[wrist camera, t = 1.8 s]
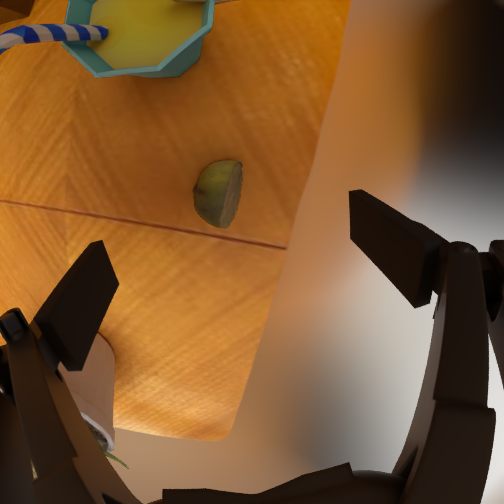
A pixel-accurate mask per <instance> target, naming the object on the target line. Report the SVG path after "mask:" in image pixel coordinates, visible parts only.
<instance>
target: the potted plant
mask: <svg viewBox="0 0 504 504" xmlns="http://www.w3.org/2000/svg"><path fill="white" fill-rule="evenodd" d="M58 369H59V371H60V372H61V373H62V375H63V377H64V380H65V382H66V384H67V386H68V389H69V391H70V393H71V395H72V397H73V399H74V401H75V403H76V405H77V407H78V409H79V411H80V413H81V415H82V417H83V419H84V420H85V422H86V424H87V426H88V428H89V429H90V431H91V433H92V435H93V436H94V438H95V440H96V441H97V443H98V445H99V446H100V448H101V450H102V451H103V453H104V454H105V456H107V457H110V458H112V459H114V460H116V461H118V462H120V463H121V464H123V465H124V466H125V467H126V468H128V467H127V466H126V465H125V464H124V463H123V462H122V461H121V460H119V459H118V458H116V457H115V456H113V455H112V454H110V453H111V452H112V451H113V450H114V434H115V432H114V429H113V400H114V381H115V356H114V353H113V351H112V348H111V347H110V346H109V344H108V343H107V342H106V340H105V339H104V338H103V337H102V336H101V335H99V334H98V333H97V334H96V337H95V339H94V342H93V344H92V347H91V349H90V352H89V354H88V357H87V359H86V362H85V364H84V367H83V369H82V371H72V372H68V371H67V370H66V368H65V367H64V366H63V364H62V363H61V361H60V363H59V365H58ZM0 391H1V392H2V390H1V389H0ZM31 462H32V460H31ZM33 467H34V466H33V463H32V468H33ZM33 475H37V474H36V471H35V472H33ZM37 478H38V477H36V478H34V480H35V479H37Z"/></svg>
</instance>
